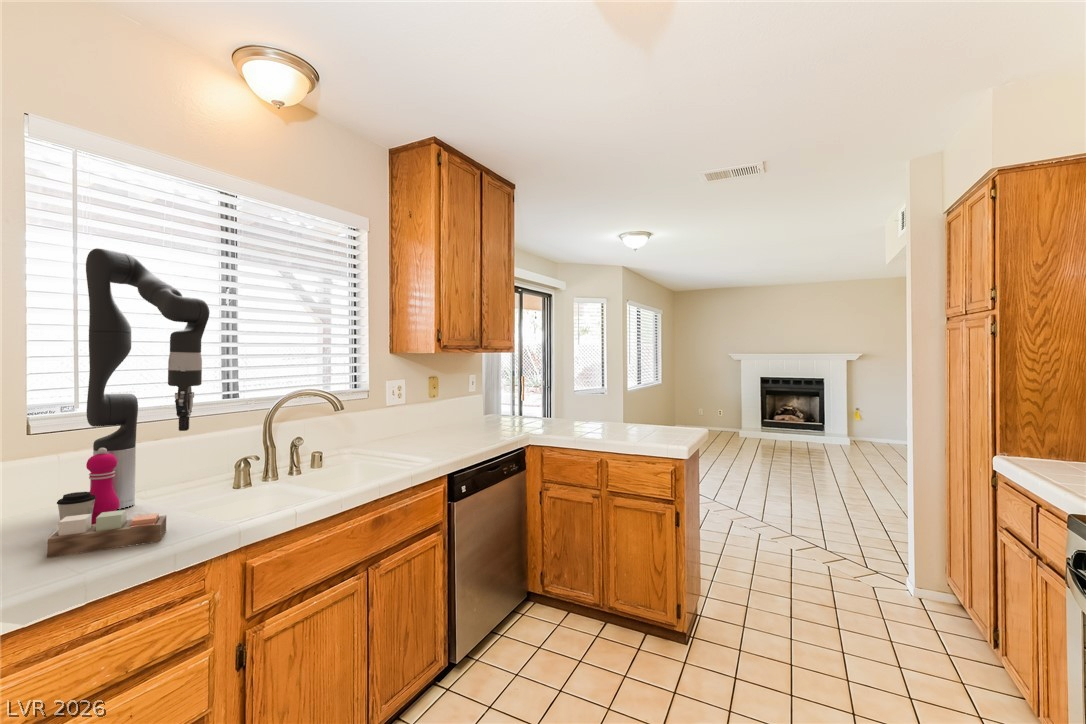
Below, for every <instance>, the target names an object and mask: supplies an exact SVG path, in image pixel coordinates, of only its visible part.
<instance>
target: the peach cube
mask: <svg viewBox="0 0 1086 724" xmlns="http://www.w3.org/2000/svg"><path fill="white" fill-rule="evenodd" d="M159 516H160V515H159V512H157V513H149V514H141V515H135V516H134V517H133V518H132V519H133V520H132V519H131V520H132V521H131V526H134V525H142V524H150V523H155V524H156V523H157V522H158V520H159Z"/></svg>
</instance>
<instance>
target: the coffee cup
mask: <svg viewBox="0 0 1086 724" xmlns="http://www.w3.org/2000/svg"><path fill="white" fill-rule="evenodd" d="M62 496H63V497H62V498H60V499H58V500H57V502H56V504H57V507H58V514H59V519H60V520H59V522H60V521H61V520H62V519H63V518H65V517H67V516H75V515H84V514H92V513H93V507H94V501H95V499H96V497H95V495H91V494H90V491H75V492H71V493H66V494H63V495H62ZM91 519H92V515H91Z"/></svg>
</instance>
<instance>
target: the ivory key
mask: <svg viewBox="0 0 1086 724" xmlns="http://www.w3.org/2000/svg"><path fill="white" fill-rule="evenodd" d="M91 515H92V514H84V515H75V516H67V517H65V518H63V519H62V520H61V521H60V520H59V522H58V530H59V536H63V535H71V534H78V533H86V532H88V531H89V530H90V529H91Z"/></svg>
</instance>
